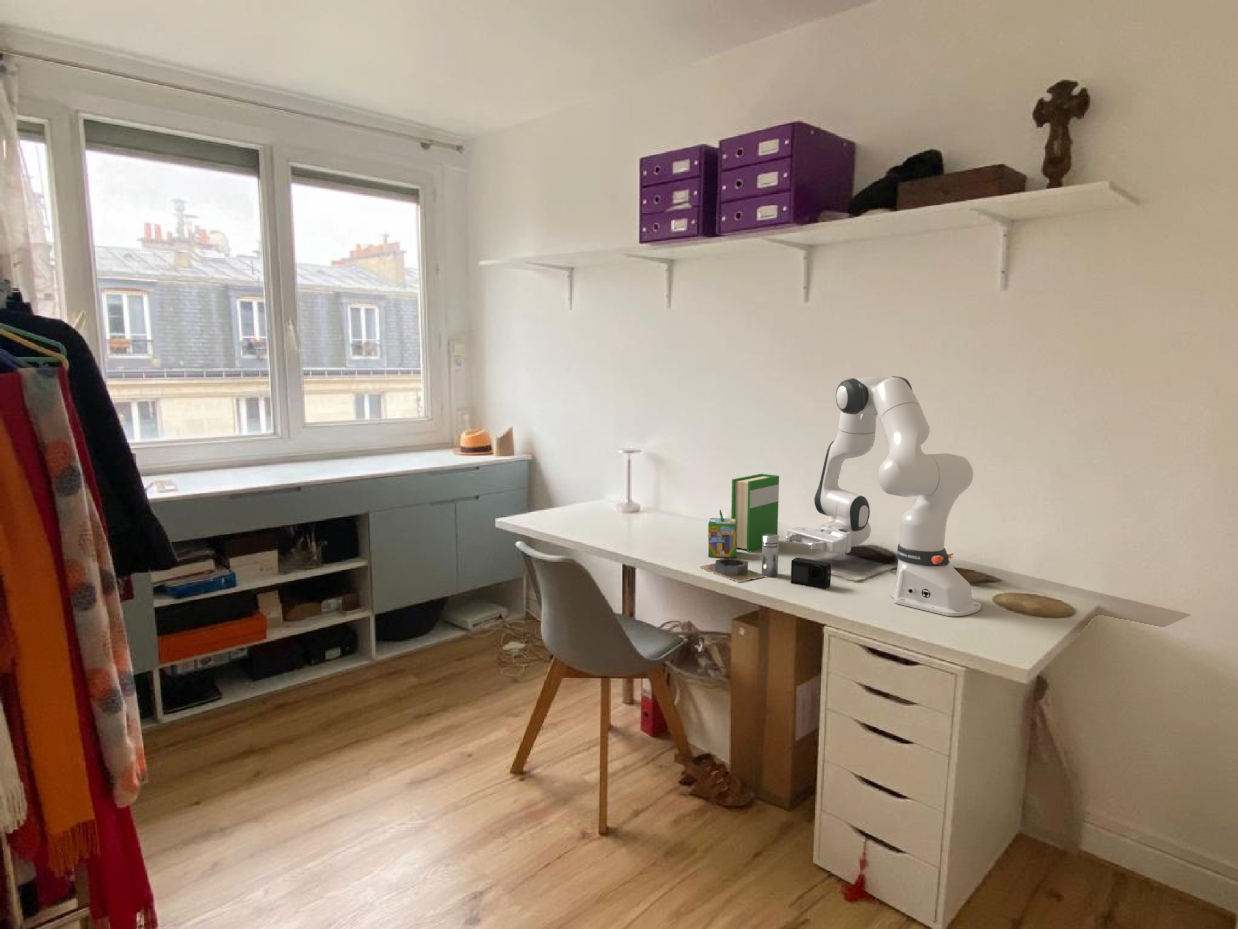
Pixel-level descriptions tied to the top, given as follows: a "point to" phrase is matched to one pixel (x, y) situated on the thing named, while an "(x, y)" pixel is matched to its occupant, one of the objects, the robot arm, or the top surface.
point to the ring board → (732, 569)
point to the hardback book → (755, 508)
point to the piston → (770, 555)
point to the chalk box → (722, 537)
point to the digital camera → (811, 573)
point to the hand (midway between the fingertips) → (798, 542)
